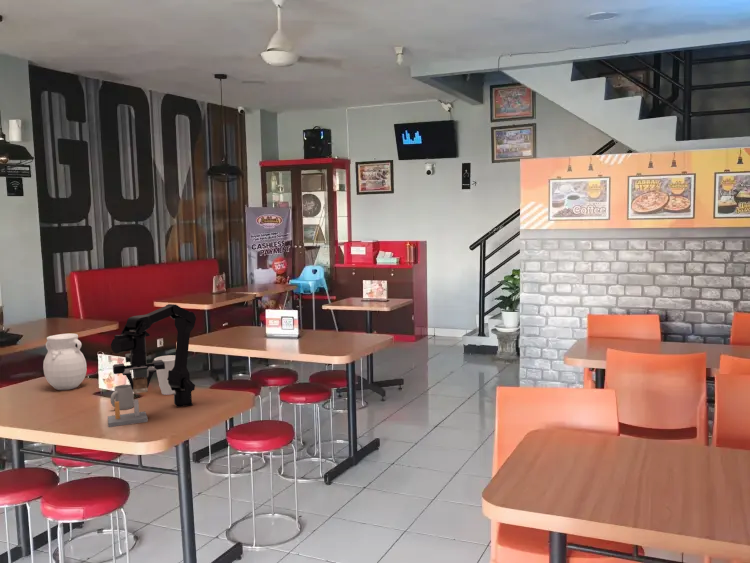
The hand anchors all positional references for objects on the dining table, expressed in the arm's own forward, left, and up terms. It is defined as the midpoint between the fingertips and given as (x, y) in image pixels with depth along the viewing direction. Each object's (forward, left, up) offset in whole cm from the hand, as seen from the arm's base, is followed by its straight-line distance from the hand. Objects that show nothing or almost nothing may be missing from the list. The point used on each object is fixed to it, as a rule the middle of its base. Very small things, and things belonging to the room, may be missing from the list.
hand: (140, 388), depth 255 cm
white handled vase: (+28, -71, -12) cm, 78 cm away
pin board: (+5, 0, -12) cm, 13 cm away
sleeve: (0, 0, -1) cm, 1 cm away
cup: (+6, -20, -13) cm, 25 cm away
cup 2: (-15, -37, -12) cm, 42 cm away
